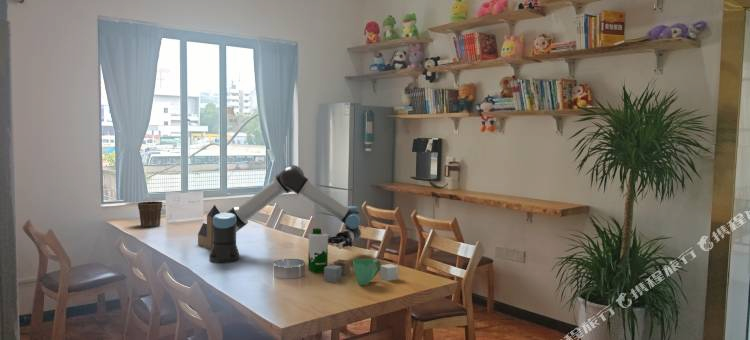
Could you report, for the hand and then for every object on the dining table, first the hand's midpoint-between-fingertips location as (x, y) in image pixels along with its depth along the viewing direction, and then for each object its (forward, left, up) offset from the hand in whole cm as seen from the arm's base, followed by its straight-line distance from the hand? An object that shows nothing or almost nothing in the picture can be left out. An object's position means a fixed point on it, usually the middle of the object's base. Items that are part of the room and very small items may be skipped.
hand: (326, 245), depth 267 cm
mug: (+16, -30, -11) cm, 36 cm away
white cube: (+27, -24, -11) cm, 38 cm away
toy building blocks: (-61, +52, -11) cm, 81 cm away
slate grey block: (+1, -24, -11) cm, 26 cm away
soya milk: (-5, -8, -11) cm, 14 cm away
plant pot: (-114, +120, -11) cm, 166 cm away
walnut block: (+6, -14, -11) cm, 19 cm away
